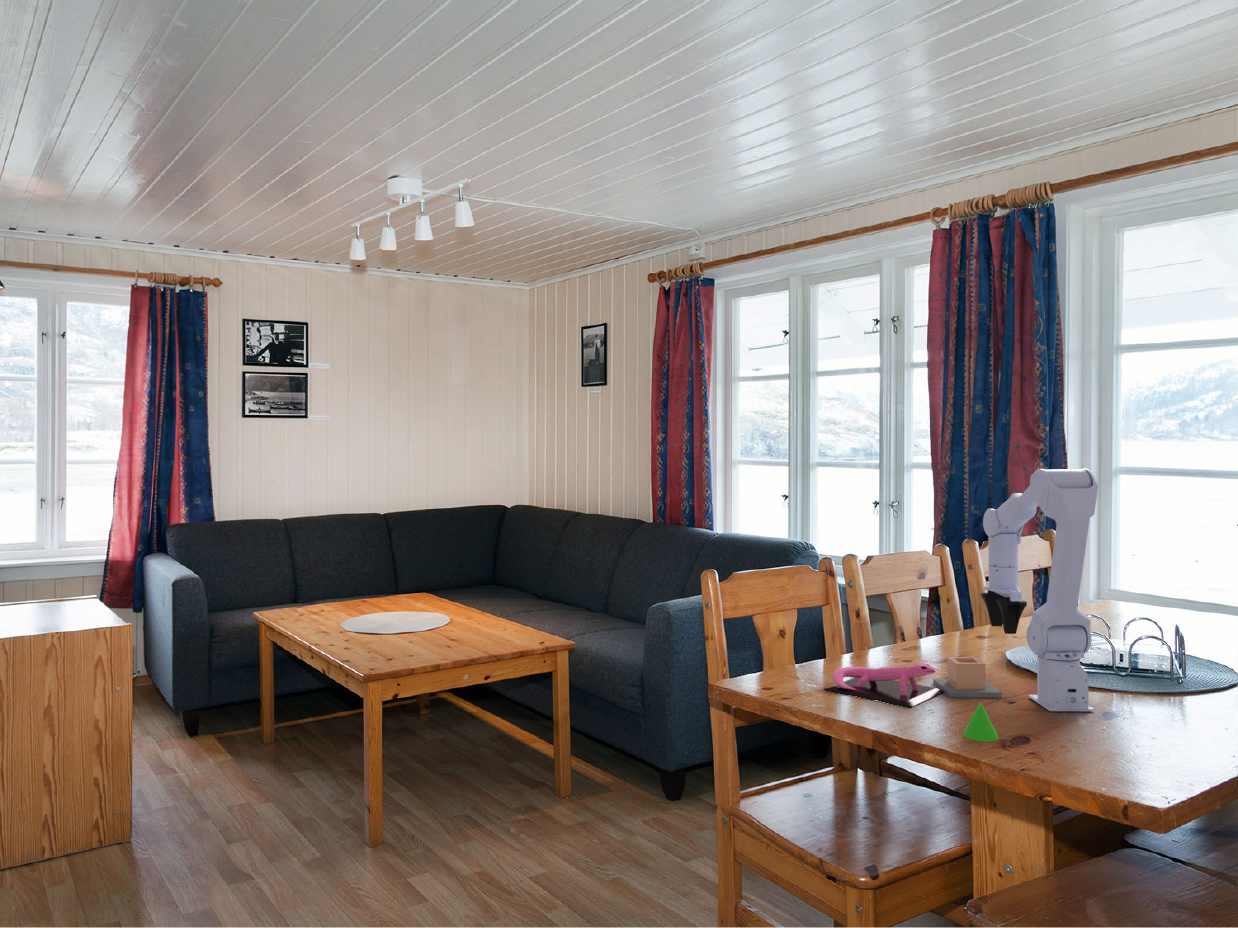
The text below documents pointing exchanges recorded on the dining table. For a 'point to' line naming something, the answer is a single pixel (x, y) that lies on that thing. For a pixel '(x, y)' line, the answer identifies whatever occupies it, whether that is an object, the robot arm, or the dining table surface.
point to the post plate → (967, 690)
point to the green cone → (980, 727)
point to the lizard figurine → (886, 684)
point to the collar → (966, 672)
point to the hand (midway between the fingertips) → (1003, 629)
